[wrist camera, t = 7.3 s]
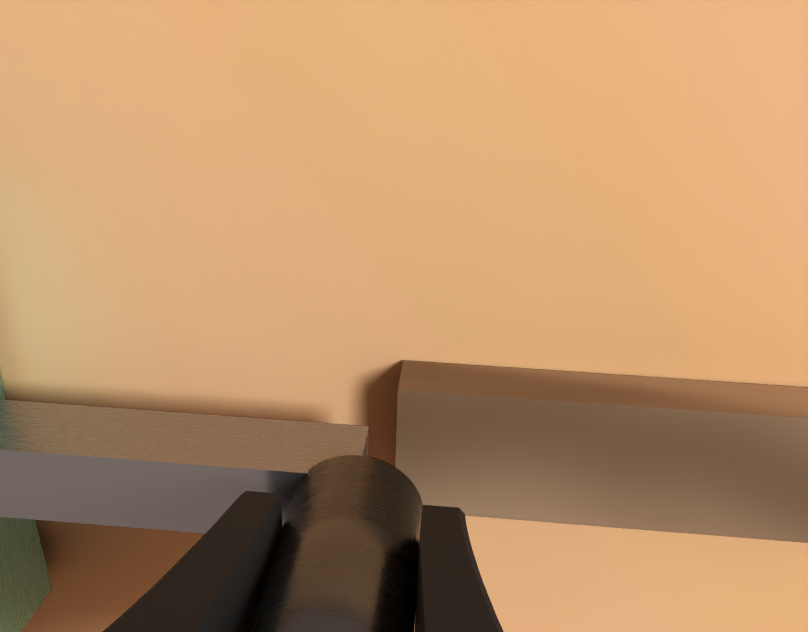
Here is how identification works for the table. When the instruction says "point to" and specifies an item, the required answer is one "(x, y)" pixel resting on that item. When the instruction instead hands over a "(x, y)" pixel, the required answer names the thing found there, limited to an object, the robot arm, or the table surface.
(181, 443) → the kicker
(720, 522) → the rail
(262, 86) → the table surface
